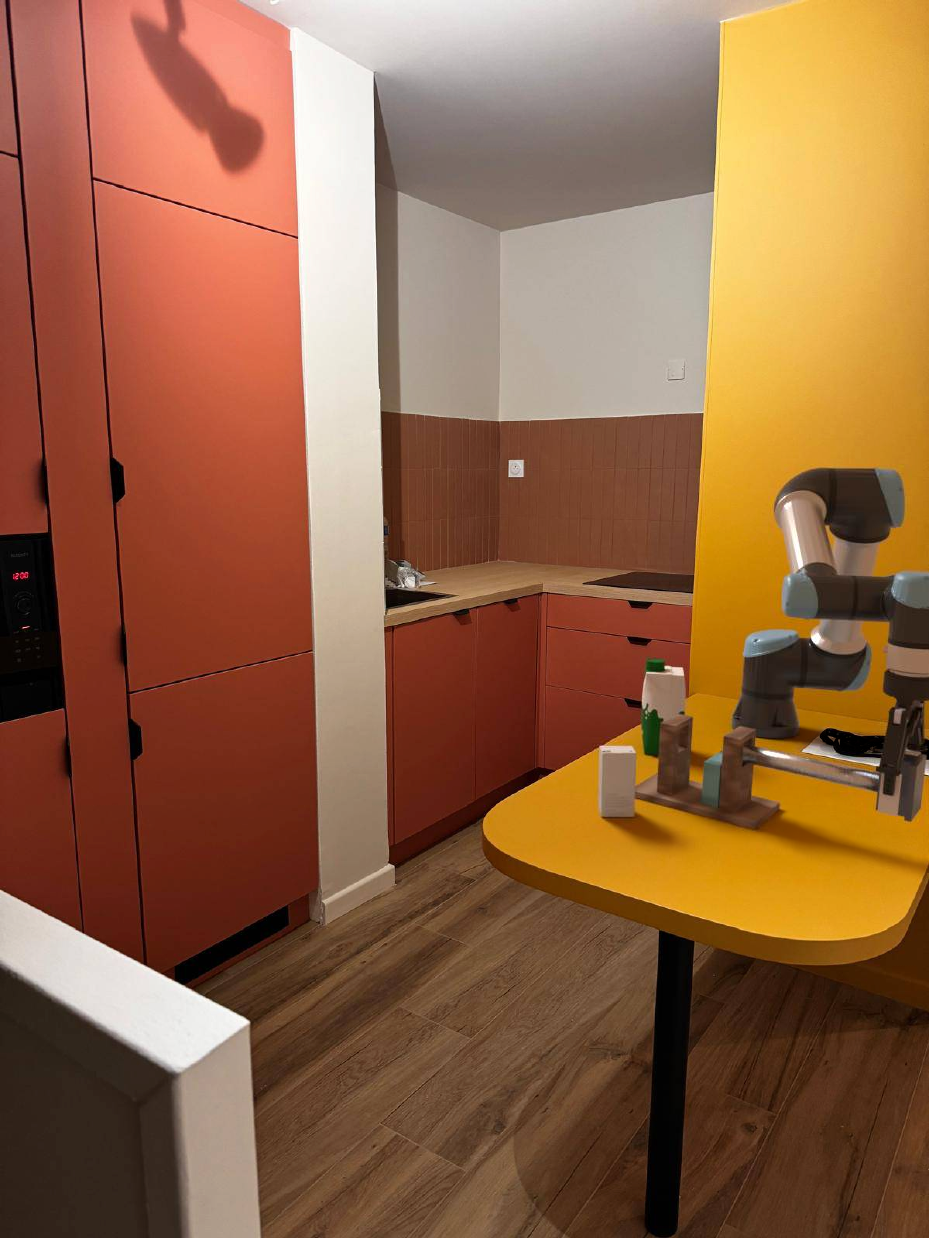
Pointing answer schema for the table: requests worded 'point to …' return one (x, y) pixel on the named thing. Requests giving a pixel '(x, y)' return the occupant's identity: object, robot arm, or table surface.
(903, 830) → the table surface
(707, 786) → the spacer ring
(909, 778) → the shaft
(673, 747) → the bearing stand
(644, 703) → the milk carton
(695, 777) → the table surface
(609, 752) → the skincare box
